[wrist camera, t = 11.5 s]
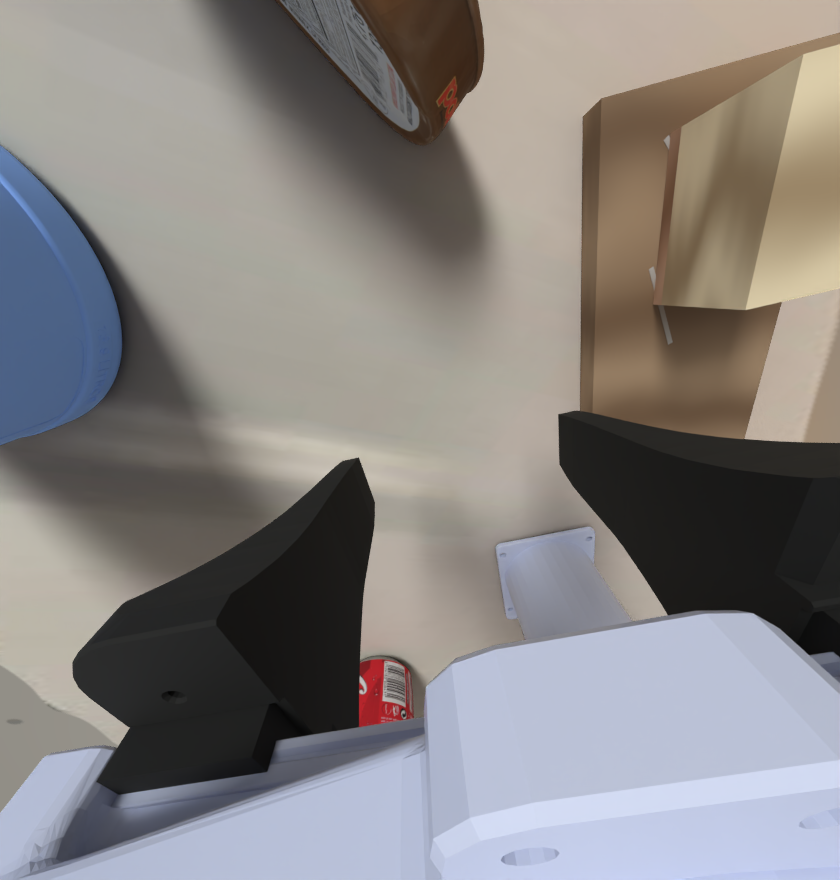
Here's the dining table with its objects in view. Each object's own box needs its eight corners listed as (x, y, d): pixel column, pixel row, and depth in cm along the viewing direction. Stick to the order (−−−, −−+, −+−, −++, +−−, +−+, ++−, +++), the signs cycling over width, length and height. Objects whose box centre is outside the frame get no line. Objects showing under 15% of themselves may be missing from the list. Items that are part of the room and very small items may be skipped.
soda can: (344, 686, 34) (315, 870, 23) (347, 648, 31) (316, 838, 20) (408, 689, 35) (408, 868, 24) (417, 651, 32) (422, 837, 21)
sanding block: (730, 286, 16) (854, 284, 12) (652, 304, 16) (745, 310, 12) (766, 107, 13) (953, 12, 9) (670, 133, 13) (802, 54, 9)
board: (719, 446, 22) (739, 456, 21) (579, 475, 23) (590, 486, 22) (812, 53, 14) (857, 27, 12) (583, 116, 14) (601, 98, 13)
